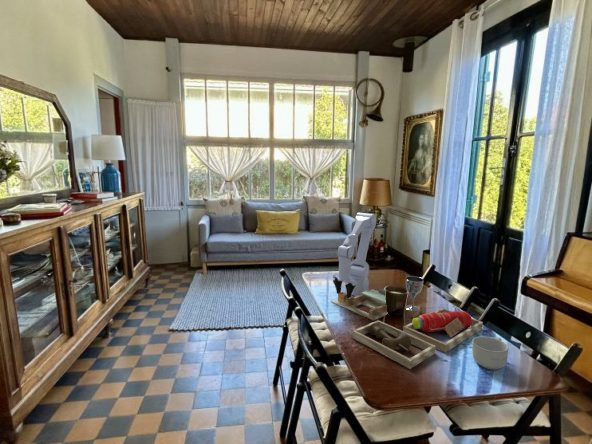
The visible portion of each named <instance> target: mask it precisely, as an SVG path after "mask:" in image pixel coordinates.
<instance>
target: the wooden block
mask: <svg viewBox="0 0 592 444" xmlns="http://www.w3.org/2000/svg"><path fill="white" fill-rule="evenodd" d="M337 299H338V301H339V302H342V303H345V301H346V300H347V299H349V298H347V291H341V293H338V294H337Z"/></svg>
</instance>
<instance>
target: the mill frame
mask: <svg viewBox="0 0 592 444" xmlns="http://www.w3.org/2000/svg"><path fill="white" fill-rule="evenodd" d="M373 323H377V324H378V325H379V327H380V328H384V330H385V332H386V333H387V334H388V335H389V334H390V335H392V336H394V337H396V338H397V337H398V336H399V334H400V333H401V332H404V331H403V330H401V329H400V328H399V329H398V328H396V327H394V326H392V325H390V324H388V323H386V322H383V321H381V320H379V319H376V320H374V321H373V322H370V323H368V324H365V325H364V326H360V327H359V328H356V329H354V330H352V339H354V340H355V341H357V342H359V343H361V344H363V345H364V346H367V347H369V348H370V349H372V350H375V352H378V353H379V354H381V355H383V356H384V357H387V358H389V359H390V360H393V361H394V362H397V364H400V365H401V366H404V367H405V368H407V369H409V370H411V369H413V368H414V367H416V366H417V365H419V364H421V363H422V362H424V361H425V360H427V359H429V358H430V357H432V356H433V355H435V354H436V346H435V345H433V344H430V343H428V342H426V341H424V340H422V339H419V338H417V337H415V336H413V335H410V334H408V333H406V332H404V333H406V334H407V335H408V336H409V338H410V340H411V345H413V346H415V347H417V348H419V349H422V351H420V352H419V353H417V354H415V355H414V356H412V357H407V356H406V355H404V354H401V353H400V352H398V351H396V350H395V349H394V350H392V349H390V348H388V347H386V346H384V345H382V343H381V342H378V341H376V340H374V339H372V338H370V337H368V336H366V335H367V334H370V333H369V327H370V325H371V324H373Z"/></svg>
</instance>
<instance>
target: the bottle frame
mask: <svg viewBox="0 0 592 444" xmlns="http://www.w3.org/2000/svg"><path fill="white" fill-rule="evenodd" d="M453 311H454V310H450V309H446V308H444V307H441V308H439V309H437V310H435V311H434V312H433V311H432V313H447V312H453ZM471 318H472V325H471V326H470V327H469V328H467V329H464V330H463V331H462V332H460V333H459V334H457V335H456V336H454V337H451V339H449V340H447V341H446V342H443V341H441V340H438V339H436V338H433V337H431V336H430V335H429V336H428V335H426V334H425V333H423V332H421V331H420V332H419V331H418V330H416V329H415V328H414V327H413V324H412V322H410V323H408V324H406V325H403V327H402V328H403V329H402V331H404V332H406V333H408V334H410V335H413V336H415V337H417V338H419V339H422V340H424V341H426V342H428V343H430V344H433V345H435V346H436V348H435V350H439V351H441V352H443V353H447V352H448V351H450V350H451V349H453V348H455V347H457V346H458V345H459V344H461V343H462V342H465V340H468V338H470V337H472V336H473V335H475V334H476V333H478V332H479V331H481V330H483V326H484V325H483V324H484V322H483V321H481V320H479V319H476V318H473V317H471Z"/></svg>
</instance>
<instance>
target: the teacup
mask: <svg viewBox="0 0 592 444" xmlns="http://www.w3.org/2000/svg"><path fill="white" fill-rule="evenodd" d="M471 343H472V347H471V348H472V352H471V353H472V357H473V360H474V361H475V362H477V364H479V366H481V367H483V368H484V369H489V370H499V369H502V368H503V367H504V366H507V365H506V364H507V362H508V358H509V357H508V356H509V355H508V354H509V346H508V344H507V343H506V342H505V341H503V340H502V338H500V337H497V336H496V337H495V338H494V337H492V336H491V337H490V336H483V335H482V336H481V335H479V336H476V337H473V338H472V340H471Z"/></svg>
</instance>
